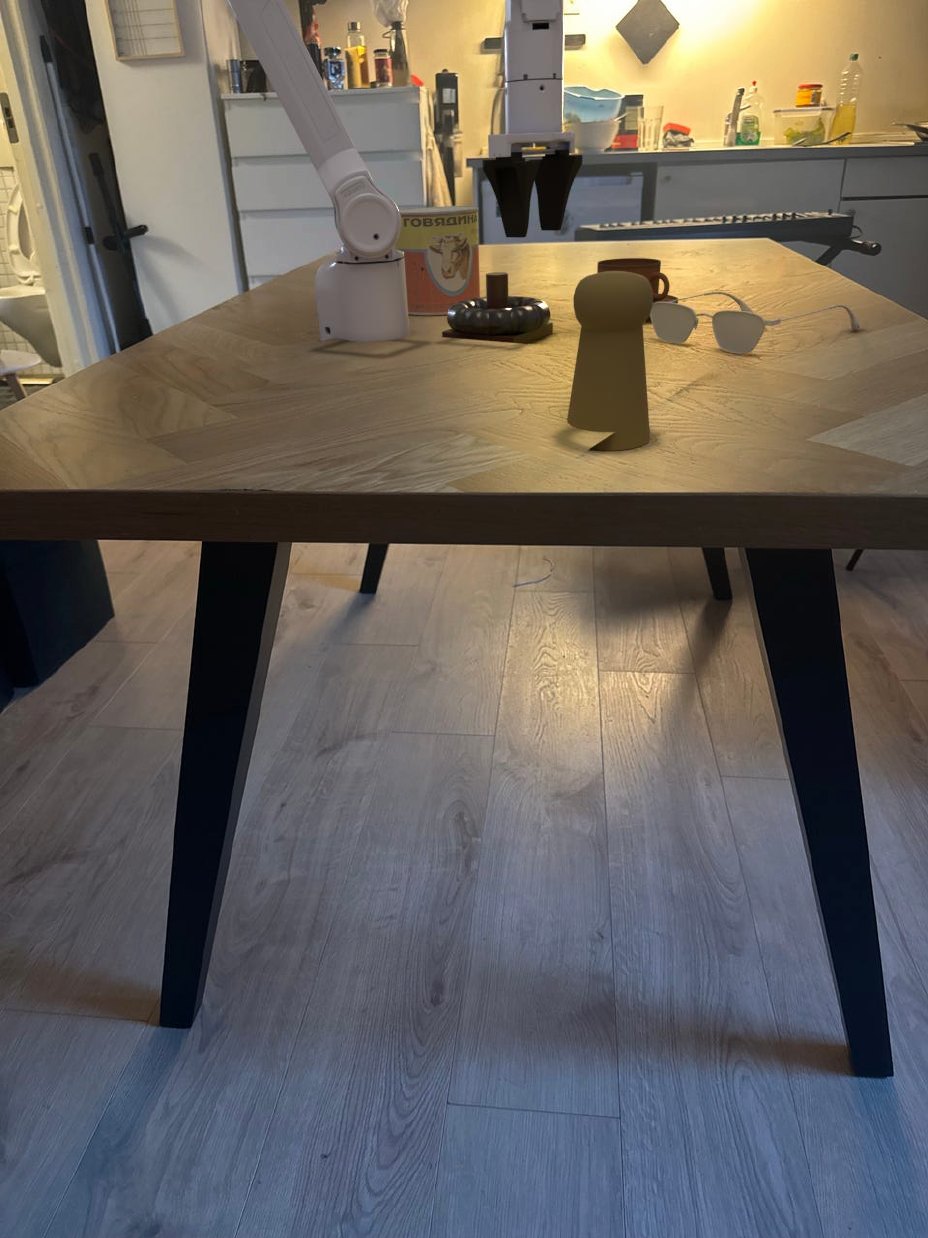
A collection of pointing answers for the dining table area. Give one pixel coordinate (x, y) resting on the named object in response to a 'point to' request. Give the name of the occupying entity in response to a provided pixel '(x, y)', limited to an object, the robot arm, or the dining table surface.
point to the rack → (498, 300)
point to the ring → (498, 316)
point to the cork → (611, 359)
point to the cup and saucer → (644, 268)
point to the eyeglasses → (719, 324)
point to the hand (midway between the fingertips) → (534, 233)
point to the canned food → (439, 257)
